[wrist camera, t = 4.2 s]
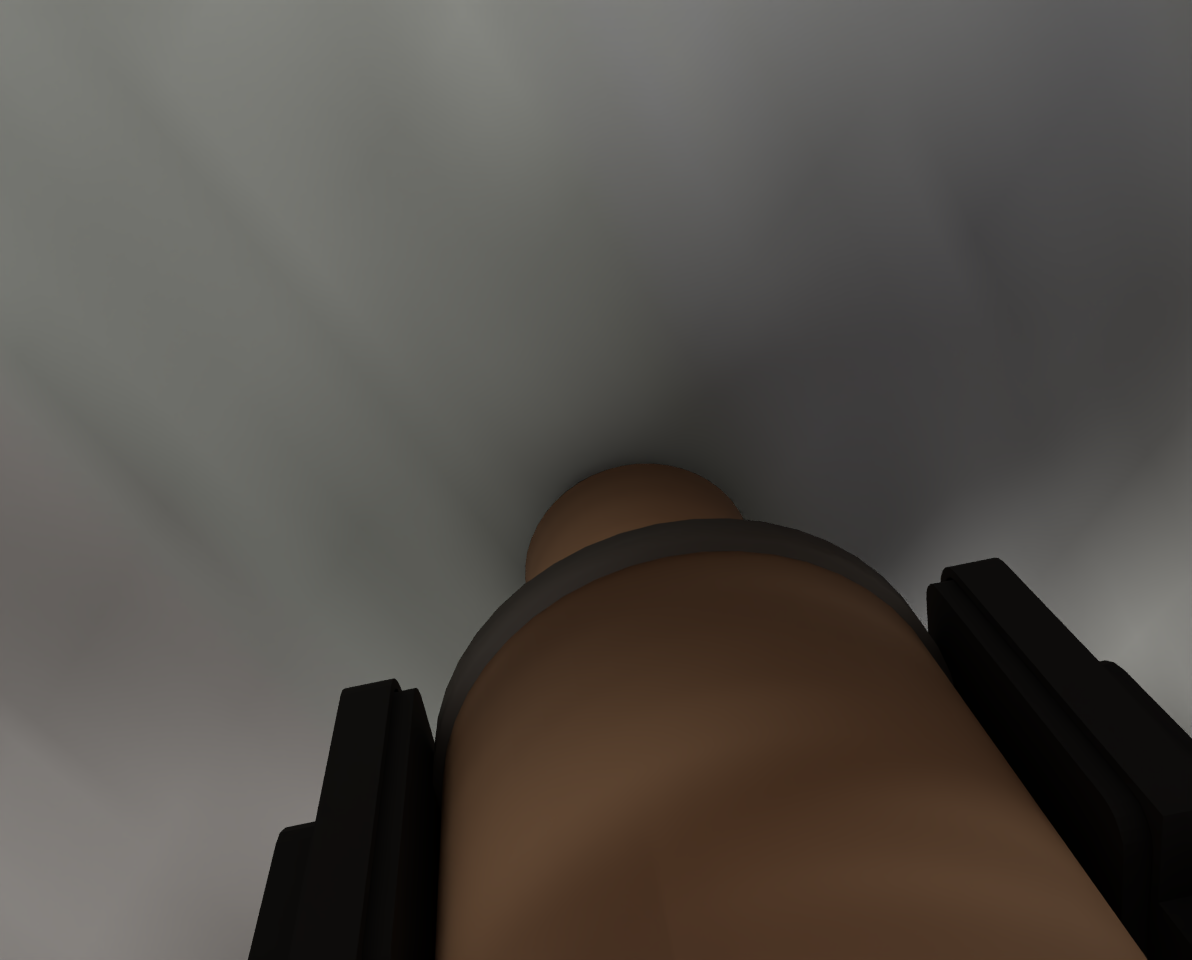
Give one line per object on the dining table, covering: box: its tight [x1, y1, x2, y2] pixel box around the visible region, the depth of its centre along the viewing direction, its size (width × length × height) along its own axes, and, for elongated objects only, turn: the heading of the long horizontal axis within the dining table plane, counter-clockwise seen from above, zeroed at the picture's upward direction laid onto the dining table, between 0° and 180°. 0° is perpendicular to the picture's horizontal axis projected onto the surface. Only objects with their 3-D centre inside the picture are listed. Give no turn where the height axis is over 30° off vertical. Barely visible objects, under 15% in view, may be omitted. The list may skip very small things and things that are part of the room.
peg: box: [433, 464, 1147, 960], centre depth 10 cm, size 5×5×11 cm
